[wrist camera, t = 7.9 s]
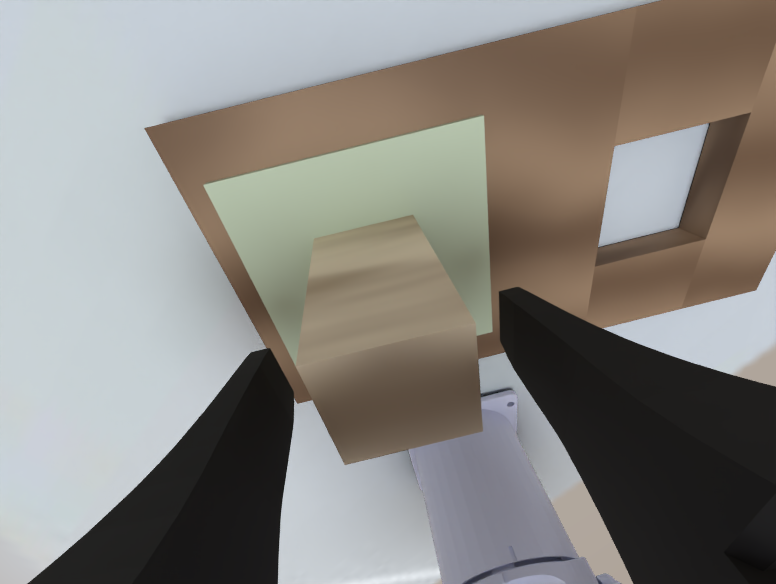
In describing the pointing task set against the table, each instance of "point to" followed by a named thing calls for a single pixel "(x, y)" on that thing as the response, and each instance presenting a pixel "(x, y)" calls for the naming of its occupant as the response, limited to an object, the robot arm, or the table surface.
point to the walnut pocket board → (546, 154)
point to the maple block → (387, 343)
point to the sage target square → (363, 213)
